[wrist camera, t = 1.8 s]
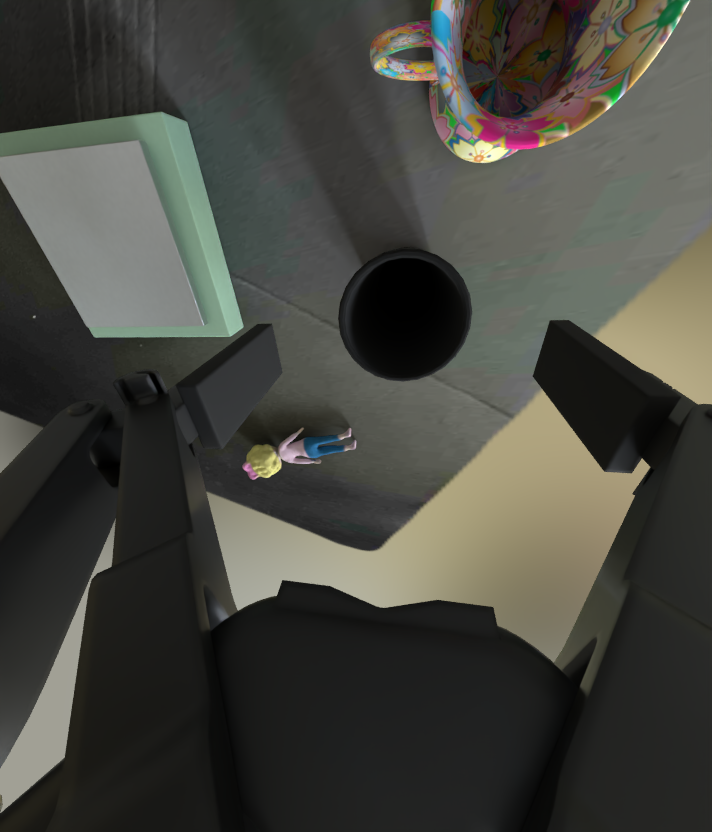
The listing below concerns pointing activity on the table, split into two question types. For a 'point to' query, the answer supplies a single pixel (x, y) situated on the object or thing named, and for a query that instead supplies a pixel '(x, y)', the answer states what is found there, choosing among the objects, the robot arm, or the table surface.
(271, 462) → the figurine
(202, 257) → the scale
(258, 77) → the table surface
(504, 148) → the mug
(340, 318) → the cup
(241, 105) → the table surface
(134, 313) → the pan
